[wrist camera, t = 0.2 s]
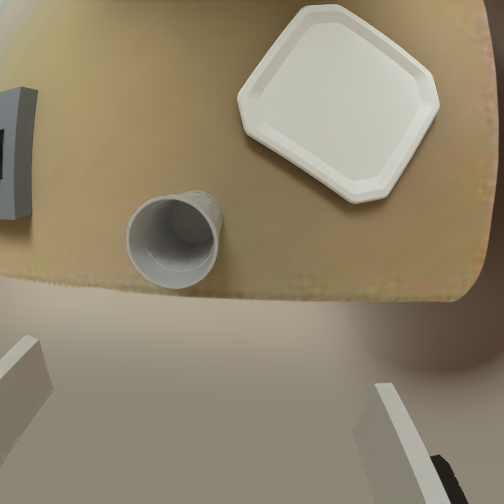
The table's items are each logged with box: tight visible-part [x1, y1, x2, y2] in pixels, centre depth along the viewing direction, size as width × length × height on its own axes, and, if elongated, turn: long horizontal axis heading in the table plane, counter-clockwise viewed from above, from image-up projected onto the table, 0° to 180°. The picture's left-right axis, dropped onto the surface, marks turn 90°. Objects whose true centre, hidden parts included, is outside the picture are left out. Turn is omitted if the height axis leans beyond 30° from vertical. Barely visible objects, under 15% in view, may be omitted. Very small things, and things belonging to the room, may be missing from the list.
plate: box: [237, 4, 440, 204], centre depth 32 cm, size 21×21×2 cm
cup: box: [126, 190, 223, 289], centre depth 31 cm, size 8×8×12 cm
